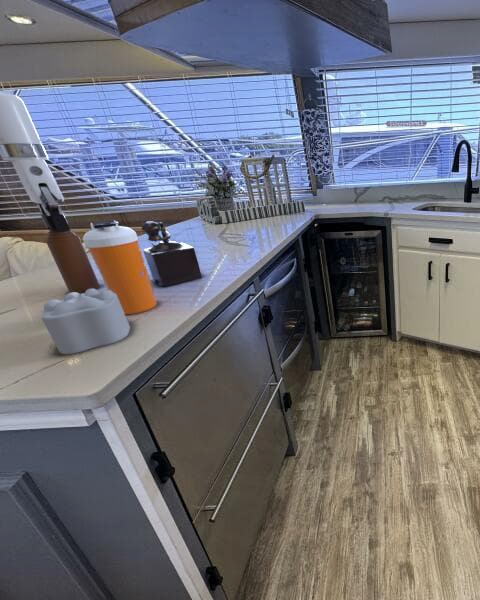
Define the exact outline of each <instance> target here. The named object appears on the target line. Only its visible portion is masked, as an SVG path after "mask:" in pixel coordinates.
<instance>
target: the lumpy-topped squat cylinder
mask: <svg viewBox="0 0 480 600" xmlns="http://www.w3.org/2000/svg"><path fill="white" fill-rule="evenodd" d="M40 318H41V320H42V322H43V323H44V326H45V327H46V329H47V331H48V334H49V335H50V337H51V339H52V341H53V342H54V345H55V346H56V348H57V350H58V352H59V353H60V354H61V355H72V354H78V353H80V352H84V351H88V350H90V349H94V348H98V347H102V346H107V345H111V344H114V343H117V342H119V341H121V340H123V339H124V338H126V337H127V336H128V335H129V333H130V330H131V326H130V324H129V321H128V319H127V316H126V314H124V311H123V309H122V307H121V304H120V302H119V299H118V297H117V295H116V294H115V293H113V292H112V291H111V290H108V289H103V290H98V289H88V290H86V292H82V293H77V292H71V293H67V294H66V295H65V296H64V298H63V299H60V300H58V299H50V300H48V301H45V303H44V304H43V311H42V313H41V315H40Z"/></svg>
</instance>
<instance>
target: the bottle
mask: <svg viewBox="0 0 480 600" xmlns="http://www.w3.org/2000/svg"><path fill="white" fill-rule="evenodd" d="M45 240H46V241H45V243H46V245H47V247H48V250H49V251H50V254H51V256H52V258H53V260H54V262H55V264H56V267H57V268H58V271H59V273H60V275H61V278H62V279H63V283H64V284H65V286H66V289H67V291H68V292H69V293H71V292H77V293H79V294H83V293H85V292H86V290H88V289H96V290H98V289H99V288H101V285H100V283H99V280H98V278H97V275H96V274H95V273H96V272H95V270H94V268H93V266H92V264H91V261H90V259H89V257H88V254H87V252H86V249H85V247H84V244H83V242H82V240H81V237H79V235H78V234H76V233H75V232H74V231H72V229H70V230H69V231H64V232H56V233H55V232H53V231H52V229H51V227H50V229H48V231H47V235H46V238H45Z"/></svg>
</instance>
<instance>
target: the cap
mask: <svg viewBox="0 0 480 600" xmlns="http://www.w3.org/2000/svg"><path fill="white" fill-rule="evenodd" d="M62 214H63V215H64V217H65V218H66V216H65V214H64V212H62ZM40 217H41V220H42V222H43V223H44V226H45V227H46V228H48V227H50V225H49V223H48V220H47V218H46V217H47V215H46V214H42V213H41V214H40Z"/></svg>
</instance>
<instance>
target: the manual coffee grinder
mask: <svg viewBox="0 0 480 600" xmlns="http://www.w3.org/2000/svg"><path fill="white" fill-rule="evenodd" d="M141 230H142V232H143V233H145V234H146V235H147V236H148V237H147V241H150V242H151V243H150V244H151V245H152V246H151V247H148V248H144V249H142V250H143V256H144V258H145V260H146V263H147V265H148V267H149V271H150V274H151V277H152V281H153V282H152V283H154V284H156V285H158V286H159V287H170V286H175V285H178V284H183V283H188V282H191V281H194V280H199V279H202V273H201V268H200V264H199V261H198V258H197V254H196V250H195V247H194V246H191V245H189V244H187V243H184V242H177V241H173V240H170V239H171V237H172V235H171V234H170V232H168V231H167V230H166V227H165V224H164V223H163V222H161V221H160V222H155V221H146V222H144V223H143V224H142V225H141ZM160 232H161V235H160V234H159V233H160ZM152 242H154V243H155V242H157V243H156V244H153V243H152Z"/></svg>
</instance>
